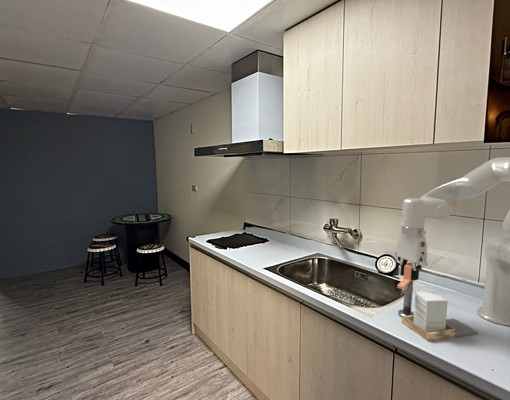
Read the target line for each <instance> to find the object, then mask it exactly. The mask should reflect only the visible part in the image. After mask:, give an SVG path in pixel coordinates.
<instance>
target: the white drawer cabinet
mask: <svg viewBox="0 0 510 400" xmlns="http://www.w3.org/2000/svg"><path fill="white" fill-rule="evenodd" d="M414 293H415V294H414V296H415V297H414V307H413V308H414V310H413V313H414V322H413V323H414V324H416V325H417V326H419V327H420V328H422V329H423V330H425V331H426V332H428V333H431V332H437V331H443V330H445V328H446V320H447V312H448V303H449V302H448V300H447V299H446V298H444V297H443V296H442V295H440V294H438V293H436V291H415V292H414Z"/></svg>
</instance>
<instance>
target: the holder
mask: <svg viewBox="0 0 510 400" xmlns="http://www.w3.org/2000/svg"><path fill="white" fill-rule="evenodd" d="M401 318H402V320H401V324H403V325H405V326H406V327H407V328H409V329H410V330H412V331H413V332H414V333H415V334H417V335H419V336H420V337H421V338H422V339H424V340H425V341H427V342H431V341H436V340H442V339H448V338H452V337H453V338H454V337H455V334H456V329H455V328H453V327H452V326H450V325H448V324H446V328H445V330H443V331H437V332H431V333H428V332H426V331H425V330H423V329H422V328H420V327H419V326H417V325H416V324H414V323H413V322H414V315H410V316H403V317H401Z"/></svg>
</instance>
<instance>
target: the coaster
mask: <svg viewBox="0 0 510 400" xmlns="http://www.w3.org/2000/svg"><path fill="white" fill-rule="evenodd" d="M446 324H448V325H450V326H452V327H453V328H455V329H456V334H455V336H454V337H455V338H462V337H466V336H473V335H477V334H478V331H477V330H476V329H473V328H472V327H470V326H469V325H466V324H465V323H463V322H461V321H459V320H458V319H456V318H448V319H447V318H446Z"/></svg>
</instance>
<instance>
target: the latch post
mask: <svg viewBox="0 0 510 400" xmlns="http://www.w3.org/2000/svg"><path fill="white" fill-rule="evenodd" d="M413 289H414V281H411V282H410V283H409V284H408V285H407V286H406V287H405V288H404V289H403V292H404V293H403V304H402V305H403V306H402V309H399V310H398V311H397V313H398V314H397V315H398V316H399V317H400V318H402V317H403V316H410V315H414V311H412V306H413V304H412V303H413Z"/></svg>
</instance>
